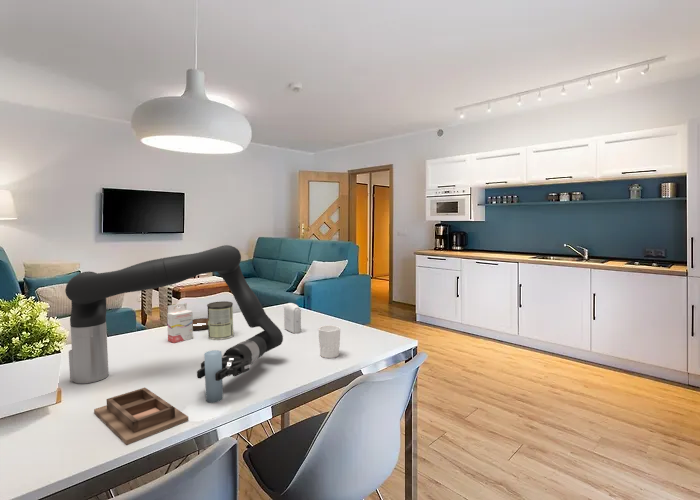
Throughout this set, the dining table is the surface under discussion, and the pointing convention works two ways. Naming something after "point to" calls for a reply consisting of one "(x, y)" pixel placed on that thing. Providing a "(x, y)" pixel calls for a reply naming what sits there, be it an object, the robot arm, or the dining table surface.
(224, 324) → the coffee can
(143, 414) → the slot rack
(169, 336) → the ink cartridge box
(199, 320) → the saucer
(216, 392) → the slate peg
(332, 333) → the white cup
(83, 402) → the dining table surface
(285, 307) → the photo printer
